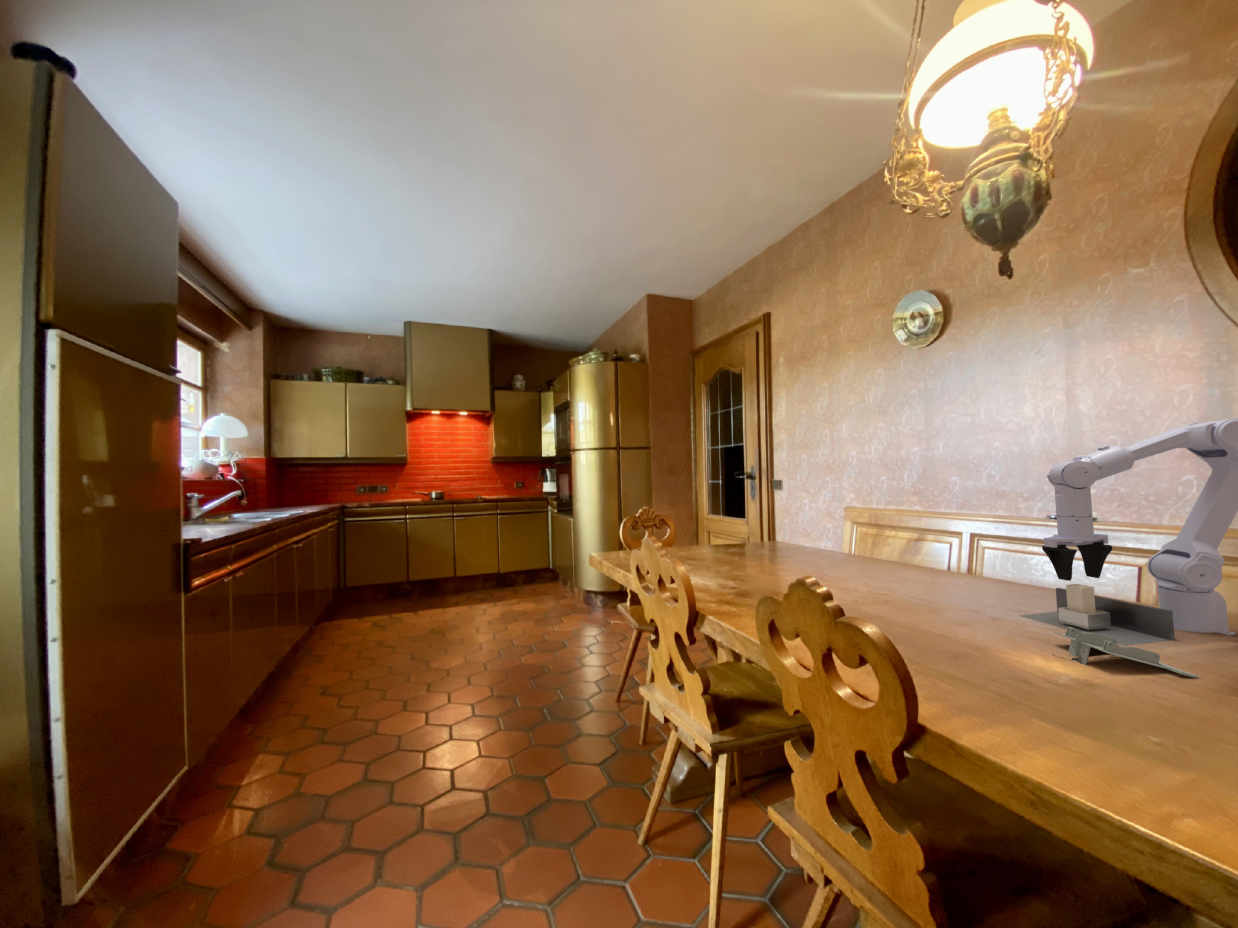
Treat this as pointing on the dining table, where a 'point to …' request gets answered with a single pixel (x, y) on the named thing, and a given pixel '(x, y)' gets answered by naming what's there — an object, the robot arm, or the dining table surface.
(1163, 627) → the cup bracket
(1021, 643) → the dining table surface
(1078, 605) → the beige rectangular block
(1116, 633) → the mounting board
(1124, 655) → the metal bracket
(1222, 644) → the dining table surface
